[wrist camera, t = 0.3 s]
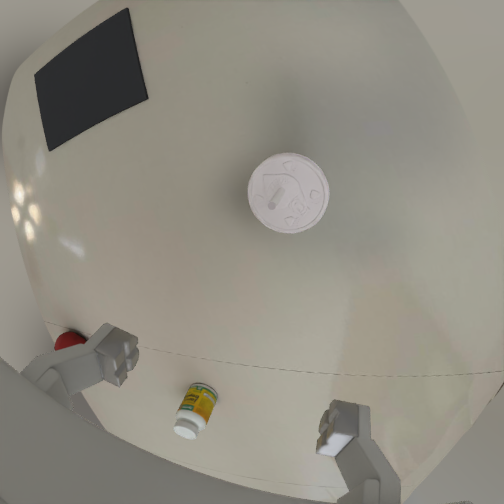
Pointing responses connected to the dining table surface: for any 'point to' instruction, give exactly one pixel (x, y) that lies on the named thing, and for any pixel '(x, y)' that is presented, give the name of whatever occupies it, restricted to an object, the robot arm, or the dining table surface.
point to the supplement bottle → (195, 411)
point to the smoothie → (288, 193)
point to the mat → (90, 80)
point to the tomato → (68, 340)
